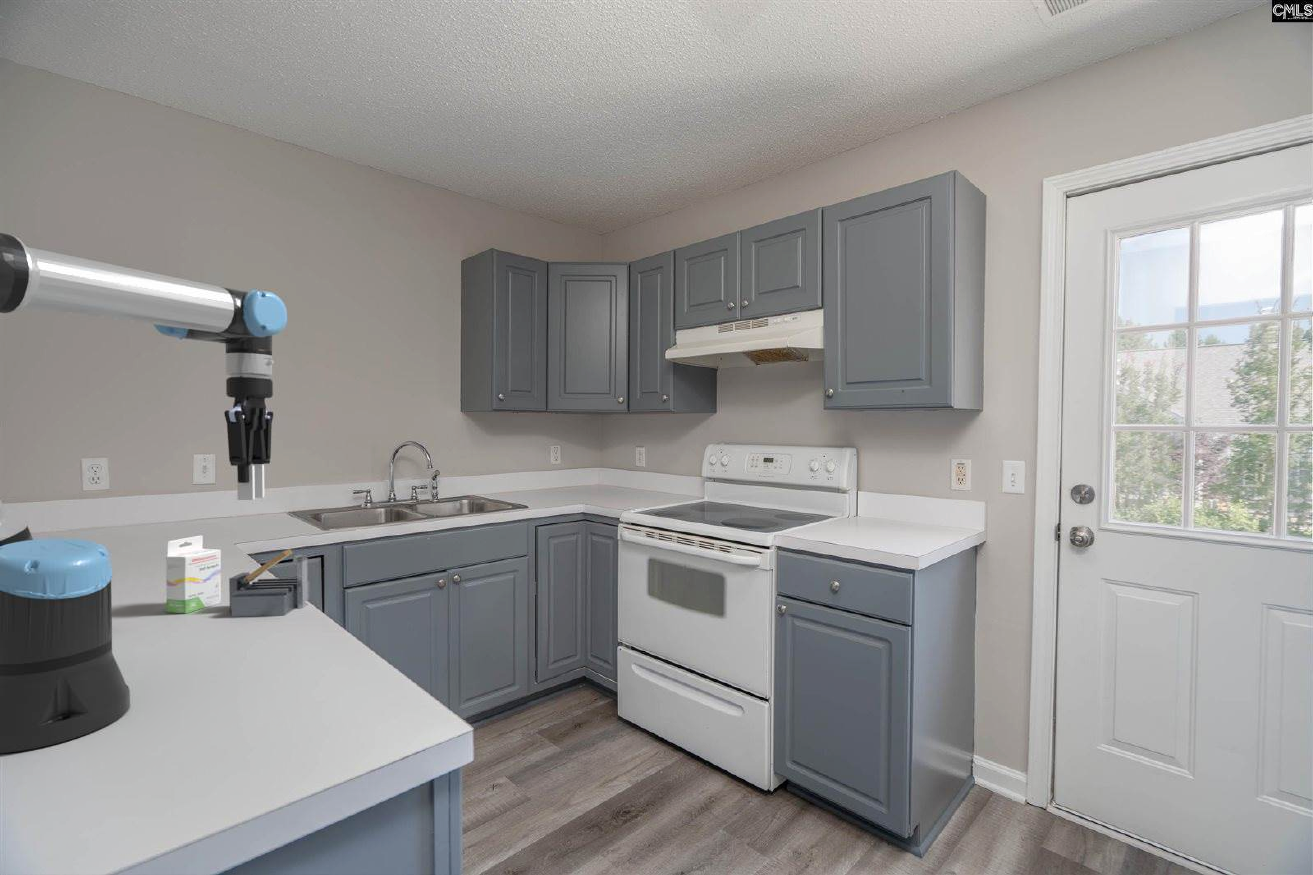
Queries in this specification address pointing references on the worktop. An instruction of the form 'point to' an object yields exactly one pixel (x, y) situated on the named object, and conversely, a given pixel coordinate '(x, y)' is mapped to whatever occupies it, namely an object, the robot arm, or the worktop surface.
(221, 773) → the worktop surface
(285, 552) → the strap
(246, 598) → the heatsink
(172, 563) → the ink box
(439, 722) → the worktop surface
